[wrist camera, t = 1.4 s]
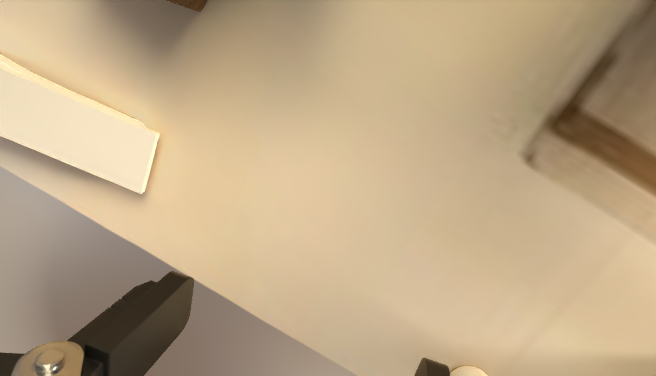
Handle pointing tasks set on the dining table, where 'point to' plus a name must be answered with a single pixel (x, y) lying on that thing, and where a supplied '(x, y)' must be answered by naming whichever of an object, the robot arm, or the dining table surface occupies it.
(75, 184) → the dining table surface
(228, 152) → the dining table surface
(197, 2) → the shelf
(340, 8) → the dining table surface
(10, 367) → the robot arm
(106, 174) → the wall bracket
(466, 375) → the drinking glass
